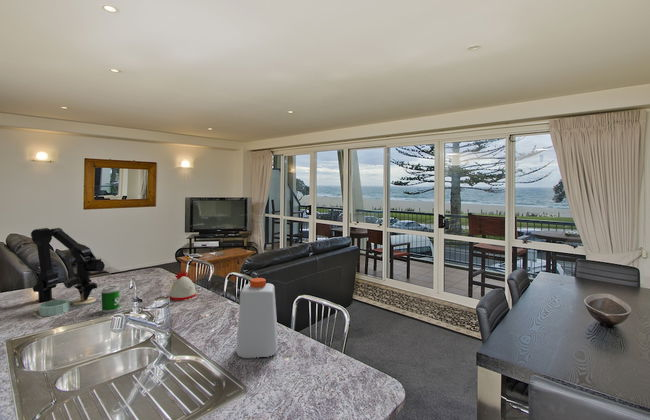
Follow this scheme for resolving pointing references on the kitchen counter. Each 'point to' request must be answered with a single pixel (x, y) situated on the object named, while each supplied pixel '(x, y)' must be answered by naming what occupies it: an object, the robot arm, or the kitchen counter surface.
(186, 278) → the kitchen timer
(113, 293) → the soda can
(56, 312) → the bowl
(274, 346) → the plastic bottle
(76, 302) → the lid
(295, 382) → the kitchen counter surface
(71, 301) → the mat
